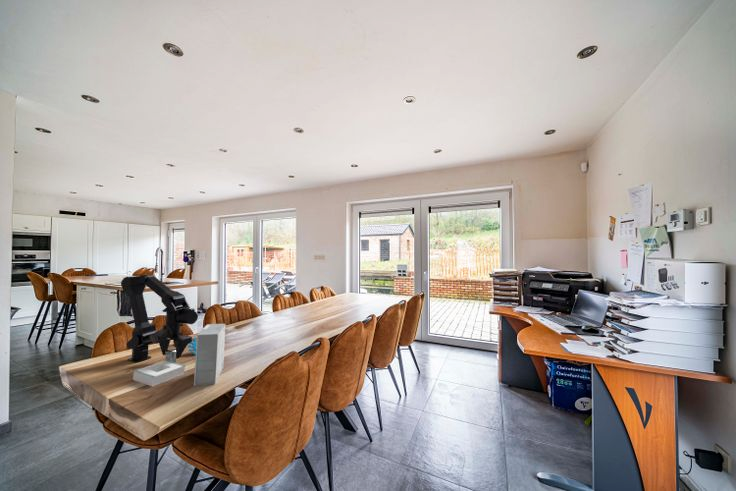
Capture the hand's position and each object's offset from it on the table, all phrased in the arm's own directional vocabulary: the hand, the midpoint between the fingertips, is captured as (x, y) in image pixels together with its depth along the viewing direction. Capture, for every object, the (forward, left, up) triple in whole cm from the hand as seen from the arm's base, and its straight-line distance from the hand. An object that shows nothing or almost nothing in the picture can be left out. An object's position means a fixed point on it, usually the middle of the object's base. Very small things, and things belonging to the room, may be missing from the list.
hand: (170, 356), depth 122 cm
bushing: (0, 0, -3) cm, 3 cm away
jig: (+9, -10, -3) cm, 14 cm away
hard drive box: (+26, -1, -4) cm, 26 cm away
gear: (-1, +15, -4) cm, 16 cm away
